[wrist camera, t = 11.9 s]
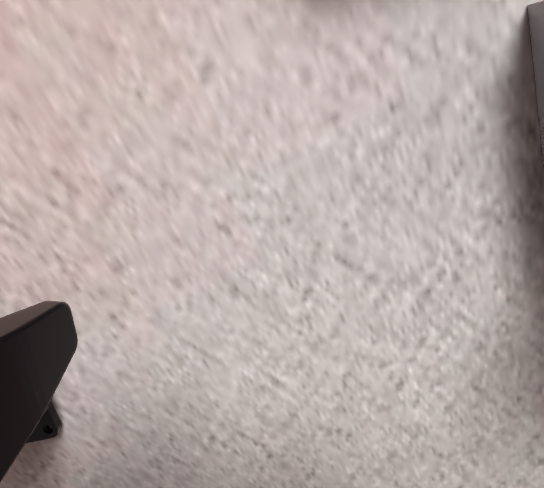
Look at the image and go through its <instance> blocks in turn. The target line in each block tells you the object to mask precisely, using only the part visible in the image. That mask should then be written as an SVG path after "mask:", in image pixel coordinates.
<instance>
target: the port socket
mask: <svg viewBox="0 0 544 488" xmlns="http://www.w3.org/2000/svg"><path fill="white" fill-rule="evenodd" d="M527 6H528V16H529V26H530V36H531V45H532V55H533V65H534V75H535V85H536V95H537V105H538V115H539V125H540V134H541V144H542V154H543V164H544V1H541V2H537V3H534V4H530V5H527Z"/></svg>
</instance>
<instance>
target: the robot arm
mask: <svg viewBox="0 0 544 488" xmlns="http://www.w3.org/2000/svg"><path fill="white" fill-rule="evenodd" d="M77 342H78V339H77V333H76V329H75V325H74V321H73V317H72V313H71V309H70V307H69V305H68V304H67V303H65V302H58V301H44V302H41V303H39V304H36V305H34V306H31V307H28V308H26V309H23V310H20V311H18V312H15V313H12V314H10V315H7V316H5V317H2V318H0V482H1V481H2V479H3V477H4V476H5V474H6V473H7V471H8V470H9V468H10V467H11V465H12V463H13V462H14V460H15V459H16V457H17V456H18V454H19V452H20V451H21V449H22V448H23V446H24V445H25V443H29V442H34V441H39V440H44V439H49V438H53V437H55V436H56V435H57V434H58V432H59V431H60V429H61V426H62V425H61V422H60V420H59V418H58V416H57V414H56V412H55V410H54V408H53V406H52V404H51V402H50V400H51V398H52V396H53V394H54V392H55V390H56V388H57V386H58V384H59V383H60V381H61V379H62V377H63V375H64V373H65V371H66V369H67V367H68V365H69V363H70V361H71V359H72V357H73V355H74V353H75V351H76V348H77ZM48 426H50V427H52V428H49V427H48Z"/></svg>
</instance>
